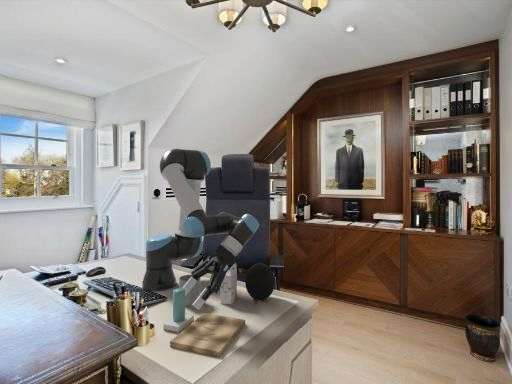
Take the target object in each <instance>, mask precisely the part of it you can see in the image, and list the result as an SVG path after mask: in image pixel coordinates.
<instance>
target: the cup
mask: <svg viewBox="0 0 512 384" xmlns="http://www.w3.org/2000/svg"><path fill="white" fill-rule="evenodd" d="M191 275H192V274H191V273H190V274H184V275H182V276H180V277H179V278H178V282H179V283H178V285H179V286H178V288H183V286H184V285H185V284H186V283H187V282H188V280H189V279H190V278H191V277H192V276H191ZM196 281H197V280H196ZM200 294H201V278H199V280H198V281H197V282H196V284H195V285H194V286H193V287H192V289H191V290H190V291H189V292H188V294H187V295H186V296H185V307H194V306H193V305H192V304H193V303H194V302H195V300H196V299H197V298H198V297H199V295H200Z"/></svg>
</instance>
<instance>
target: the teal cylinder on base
mask: <svg viewBox="0 0 512 384" xmlns="http://www.w3.org/2000/svg"><path fill="white" fill-rule="evenodd" d="M194 315H195V314H190V313H186V306H185V289H183V288H179V287H177V288H175V289H173V290H172V317H171V318H170V319H169V320H167V321H166V322H164V323H163V325H162V329H163V331H166V332H171V333H175V334H176V333H177V334H180V333H181V332H182V331H183V330H184V329H185V328H187V327H188V326H189V325H190V324H191V323H193V322H194V321H195V316H194Z"/></svg>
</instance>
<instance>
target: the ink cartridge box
mask: <svg viewBox="0 0 512 384" xmlns="http://www.w3.org/2000/svg"><path fill="white" fill-rule="evenodd" d="M237 289H238V270H237V262H234V263H233V264H232V265H231V267H229V270H228V272H227V273H226V275H225V277H224V280H223V282H222V284H221V287H220V289H219V293H220V294H219V295H220V305H221V304H222V305H232V304H233V302H234V301H235V300H236V298H237V297H238V290H237Z"/></svg>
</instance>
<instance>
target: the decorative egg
mask: <svg viewBox="0 0 512 384" xmlns="http://www.w3.org/2000/svg"><path fill="white" fill-rule="evenodd" d="M275 278H276V277H275V274H274V272H273V270H272V268H271V267H270V266H269V265H268V264H265V263H263V262H258V263H257V262H256V263H254V264H253V265H251V266H250V267H249V269H248V270H247V271H246V274H245V279H244V282H245V289H246V292H247V293H248V295H249V296H250V297H251V298H252V299H253V300H255V301H265V300H266V299H268V298H270V297H271V295H272V293H274V290H275V286H276V279H275Z"/></svg>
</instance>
